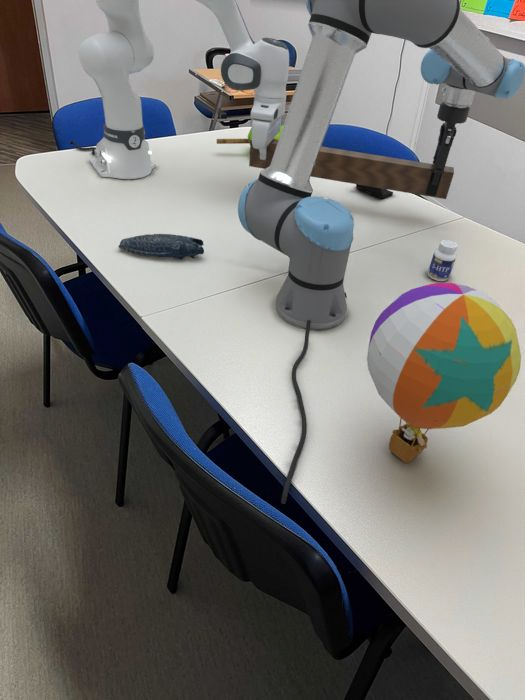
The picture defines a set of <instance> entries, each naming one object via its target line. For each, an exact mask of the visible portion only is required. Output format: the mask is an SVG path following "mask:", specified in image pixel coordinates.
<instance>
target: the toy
mask: <svg viewBox="0 0 525 700" xmlns="http://www.w3.org/2000/svg"><path fill="white" fill-rule="evenodd" d="M367 347H368V348H367V354H366V355H367V356H366V362H367V370H368V372H369V375H370V377H371V379H372V380H371V381H372V382H373V385H374V387H375V389H376V391H377V394H378V395H379V397H381V399H382V401H384V402H385V403H386V405H387V406H388V407H389V408H390V409H391V410H392V411H393V412H394V413H395V414H396V415H397V416H398V417H399V418H400V419H399V425H398V428H397V429H393V430H392V434H391V436H390V440H389V444H388V449H389V451H390V453H392V454H394V455H395V456H396V457H397V458H399V460H401V461H402V462H404V463H405V464H409V463H410V462H412V461H413V460H414V459H415V458H417V457H418V456H419V455H420V454H421V453H423V451H424V449H427V447H428V440H429V438H428V437H427V436H426V434H427V433H428V431H429V430H437V429H453V428H461V427H466V426H467V425H469V424H472V423H475V422H477V421H478V420H481V419H483V418H485V417H487V416H489V415H492V413H494V412H495V411H496V410H497V409H498V408H500V407H501V405H502V404H503V402H504V401H505V399H506V398H507V396H508V395H509V394H510V391H512V388H513V387H514V385H515V383H516V382H517V379H518V376H519V373H520V371H521V362H522V354H521V349H520V343H519V338H518V333H517V329H516V327H515V324H514V323H513V321H512V319H511V317H510V316H509V315H508V314H507V312H506V311H505V310H504V309H503V307H502V306H500V304H499V303H498V302H497V301H496V300H495V299H493V298H491V297H490V296H489V295H487V294H485V293H484V292H483V291H481V290H478V289H475V288H473V287H470V286H467V285H464V284H458V283H453V282H434V283H429V284H424V285H421V286H418V287H414V288H411V289H409V290H407V291H405V292H403V293H402V294H401V295H399V296H398V297H397V298H396V299H394V301H393V302H392V303H390V304H389V305H388V306H387V307H386V308H385V309H383V310H382V311H381V313H380V314H379V315H378V317H377V319H376V320H375V321H374V324H373V327H372V330H371V332H370V338H369V342H368V346H367ZM402 420H403V421H404V422H405V423H404V424H403V425H402ZM421 429H422V430H426V431H425V432H424V433H423V432H422V430H421Z"/></svg>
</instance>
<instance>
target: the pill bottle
mask: <svg viewBox="0 0 525 700" xmlns="http://www.w3.org/2000/svg"><path fill="white" fill-rule="evenodd" d="M457 248H458V244H457V243H456V242H455V241H452V240H449V239H441V241H440V242H439V245H438V248H436V249H435V250H434V251H433V254H432V257H431V261H430V263H429V267H428V270H427V276H428V277H429V278H431V279H432V280H435V281H438V282H445V281H448V280H449V278H450V277H451V273H452V271H453V269H454V265H455V262H456V259H457V254H456V251H457Z"/></svg>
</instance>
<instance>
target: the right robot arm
mask: <svg viewBox="0 0 525 700" xmlns="http://www.w3.org/2000/svg"><path fill="white" fill-rule="evenodd" d="M305 5H306V10H307V12H308V14H309V15H310V17H309V20H308V23H307V26H308V30H309V32H310V35H311V41H310V44H309V47H308V50H307V53H306V56H305V59H304V62H303V65H302V68H301V71H300V75H299V77H298V80H297V83H296V86H295V88H294V92H293V95H292V98H291V101H290V104H289V107H288V110H287V114H286V117H285V120H284V123H283V124H282V125H283V128H282V131H281V134H280V137H279V140H278V143H277V146H276V149H275V153H274V156H273V159H272V162H271V165H270V166H269V167H267V168H266V169H262V170H260V172H259V173H258V174H259V175H258V178H255V179H253V180H252V181H250V182H249V183H248V186H245V187H244V188H243V189H242V191H241V194H240V196H239V198H238V204H237V215H238V220H239V222H240V224H241V226H242V228H243V229H244V230H245V231H246V233H249V234H250V235H251V236H252V237H253V238H255V239H256V240H258V241H261V242H263V243H264V244H266V245H268V246H270V247H271V248H273V249H274V250H276V251H277V252H280V253H282V254H283V255H285V256H286V257H288V258H289V262H288V263H289V264H288V270H287V271H288V272H287V275H286V278H285V279H284V282H283V283H282V285H281V287H280V290H279V291H278V294H277V296H276V300H275V311H276V313H277V315H278V316H279V317H280V318H281V319H282V320H283V321H284V322H286V323H287V324H289V325H291V326H293V327H296V328H300V329H304V330H305V331H304V342H303V348H302V351H301V353H300V354H299V356H298V357H297V359H296V360H295V362H294V363H293V366H292V368H291V381H292V385H293V388H294V391H295V394H296V397H297V402H298V403H297V404H298V408H299V413H300V417H301V433H300V439H299V441H298V445H297V447H296V449H295V452H294V454H293V456H292V457H293V458H292V460H291V463H290V466H289V469H288V472H287V475H286V479H285V482H284V485H283V489H282V493H281V499H280V503H281V505H285V504H286V503H287V500H288V496H289V492H290V487H291V483H292V481H293V477H294V474H295V471H296V468H297V465H298V461H299V458H300V456H301V453H302V451H303V449H304V445H305V443H306V437H307V432H308V431H307V430H308V424H307V423H308V422H307V415H306V409H305V406H304V401H303V396H302V391H301V389H300V386H299V384H298V380H297V369H298V367H299V365H300V363H301V362H302V361H303V359H304V358H305V356H306V354H307V352H308V347H309V340H310V339H309V338H310V331H324V330H325V331H326V330H329V329H333V328H336V327H337V326H339V325H340V324H342V323H343V322H344V320H345V318H346V315H347V310H348V307H347V306H348V305H347V299H348V298H347V296H348V295H347V292H345V286H344V280H345V275H346V271H347V267H348V261H349V257H350V253H351V252H350V251H351V246H352V244H353V240H354V230H355V229H354V228H355V218H354V216H353V214H352V213H351V211H350V209H348V208H347V207H346V206H345V205H344V204H343V203H341V202H339V201H337V200H335V199H333V198H324V196H316V195H315V196H313V195H312V194H313V192H314V189H313V187H312V184H311V181H310V179H311V174H312V171H313V168H314V166H315V163H316V160H317V157H318V155H319V152H320V149H321V146H322V147H323V143H324V141H325V139H326V136H327V133H328V130H329V127H330V124H331V121H332V119H333V116H334V113H335V110H336V108H337V105H338V103H339V100H340V97H341V94H342V91H343V88H344V86H345V83H346V81H347V77H348V76H349V72H350V70H351V68H352V64H353V62H354V58H355V56H356V55H357V54H358V53H360V52H361V51H363V50H364V49H366V48H367V47H368V44H369V41H370V38H371V36H372V34H375V35H382V36H388V37H392V38H397V39H401V40H405V41H408V42H411V43H412V44H413V45H415V46H416V47H418V48H421V49H429V50H428V51H427V52H426V53H425V54H424V56H423V57H422V59H421V63H420V75H421V78H422V79H423V80H424V82H426V83H427V84H431V85H442V84H443V85H444V84H445V87H442V88H441V92H442V93H443V94H442V97H441V101H442V102H441V103H440V104H439V107H438V111H437V114H436V116H437V119H438V120H439V121H442V122H443V123H442V124H441V125H440V128H439V134H438V138H437V145H436V148H435V153H434V156H433V160H432V164H435V166H434V169H433V170H430V172H432V174H431V177H430V181H429V184H428V188H427V192H426V195H430V196H436V193H437V190H438V186H439V183H440V180H441V176H442V174H443V172H444V168H445V166H447V165H446V164H447V162H448V158H449V155H450V151H451V147H453V143H454V140H455V137H456V135H457V127H456V125H458V124H465V123H466V122H467V120H468V117H469V113H470V110H471V108H470V106H472V104H473V101H474V98H475V95H476V93H480V94H483V95H486V96H490V97H493V98H495V99H496V98H497V99H503V100H504V99H505V100H509V99H511V98H513V97H514V96H515V95H516V94H517V93H518V91H519V90H520V88H521V87H522V84H523V82H524V79H525V64H524V62H522V61H519V60H516V59H515V58H508V57H505V56H504V55H503V54H502V52H501V51H499V49H497V47H496V46H495V45H494V44H493V43H492V42H491V41H490V38H489V37H488V36H487V35H485V34H484V33H483V32H482V31H481V30H480V29H479V28H478V26H477V25H476V24H475V23H474V22H473V21H472V20H471V19H470V18H469V17H468V16H467V14H465V12H464V11H463V10H462V9H461V1H460V0H307V1H306V2H305ZM430 196H429V197H430Z"/></svg>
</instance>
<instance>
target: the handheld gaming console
mask: <svg viewBox="0 0 525 700" xmlns="http://www.w3.org/2000/svg"><path fill="white" fill-rule="evenodd" d="M355 188H356V189H358V190H361V191H363V192H365V193H368V194H370V195H372V196H374V197H377V198H379V199H381V200H383V199H385V198H389V197H391V196H393V195H394V191H393V190H388V189H382V188H376V187H370V186H364V185H358V184H355Z"/></svg>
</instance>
